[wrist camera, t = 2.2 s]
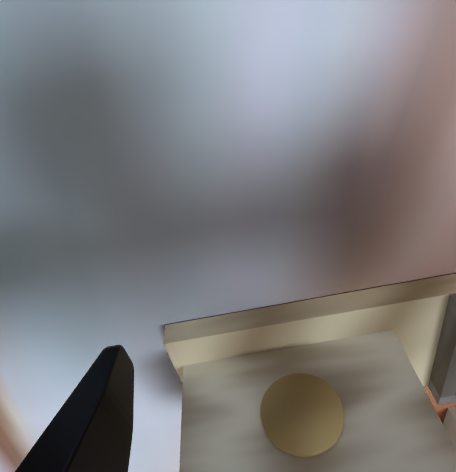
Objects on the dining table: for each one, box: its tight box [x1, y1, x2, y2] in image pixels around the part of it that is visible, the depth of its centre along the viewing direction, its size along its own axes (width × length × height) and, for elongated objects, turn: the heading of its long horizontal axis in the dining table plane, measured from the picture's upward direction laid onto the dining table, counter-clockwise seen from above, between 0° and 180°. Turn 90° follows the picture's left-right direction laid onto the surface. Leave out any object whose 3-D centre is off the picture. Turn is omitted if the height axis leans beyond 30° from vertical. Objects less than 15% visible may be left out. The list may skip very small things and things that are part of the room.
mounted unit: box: [163, 274, 456, 472], centre depth 18 cm, size 23×8×8 cm, turn 101°
